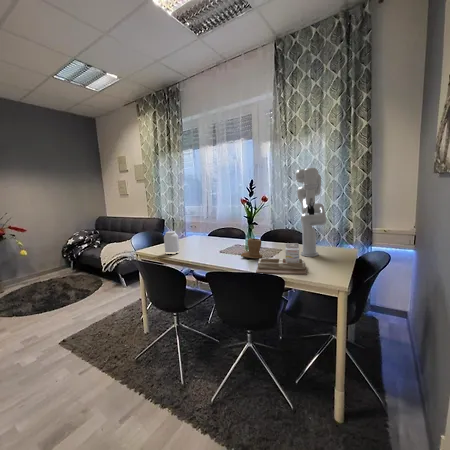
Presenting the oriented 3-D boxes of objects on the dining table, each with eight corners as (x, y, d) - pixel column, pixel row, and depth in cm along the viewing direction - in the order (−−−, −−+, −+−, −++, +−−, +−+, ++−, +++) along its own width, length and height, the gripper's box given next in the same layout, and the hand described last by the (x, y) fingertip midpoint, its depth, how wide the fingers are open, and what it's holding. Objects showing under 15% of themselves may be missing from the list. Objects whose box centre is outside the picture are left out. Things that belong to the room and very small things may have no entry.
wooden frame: (260, 261, 171) (259, 255, 171) (304, 262, 163) (303, 255, 163) (255, 273, 148) (255, 266, 148) (306, 274, 140) (306, 267, 140)
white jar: (180, 254, 209) (177, 231, 206) (165, 256, 206) (163, 233, 203) (179, 251, 221) (177, 229, 218) (165, 252, 218) (163, 231, 215)
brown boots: (265, 256, 184) (264, 237, 182) (257, 260, 174) (256, 240, 172) (248, 254, 193) (247, 236, 191) (240, 258, 183) (239, 239, 181)
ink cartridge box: (285, 267, 152) (285, 244, 150) (285, 264, 157) (285, 243, 155) (299, 267, 150) (299, 244, 148) (299, 264, 155) (298, 242, 153)
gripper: (303, 187, 163) (304, 212, 165) (305, 188, 146) (305, 215, 149) (315, 187, 161) (315, 212, 163) (318, 187, 145) (318, 215, 147)
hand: (311, 213), depth 156 cm, fingers open, 9 cm apart
